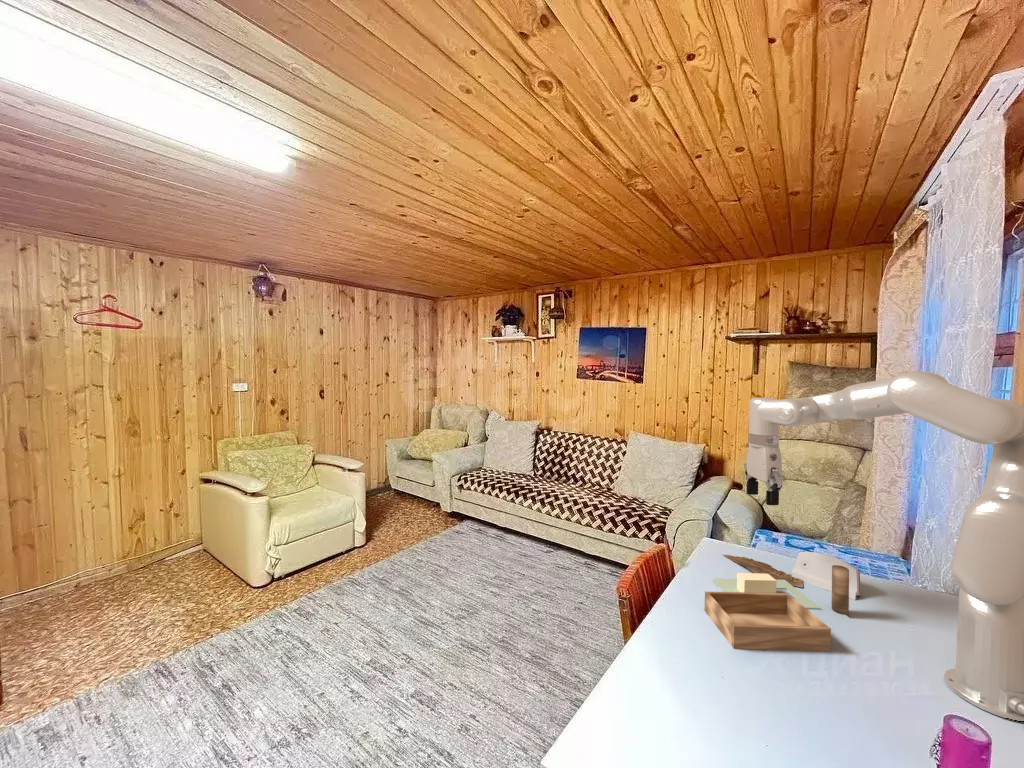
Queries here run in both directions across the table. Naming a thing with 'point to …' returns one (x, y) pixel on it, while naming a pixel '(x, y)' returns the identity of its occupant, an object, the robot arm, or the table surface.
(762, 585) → the lid
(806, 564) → the white curved device casing
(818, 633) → the box with square hole
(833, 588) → the pin
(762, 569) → the wooden fragment
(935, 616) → the table surface
